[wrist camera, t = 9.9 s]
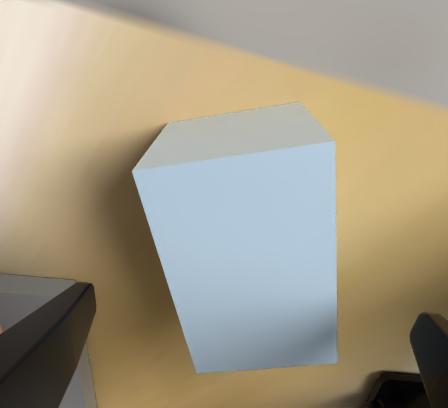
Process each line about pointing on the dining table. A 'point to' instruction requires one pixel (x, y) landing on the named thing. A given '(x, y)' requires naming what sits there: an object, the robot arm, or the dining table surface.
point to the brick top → (247, 235)
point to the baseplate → (27, 303)
